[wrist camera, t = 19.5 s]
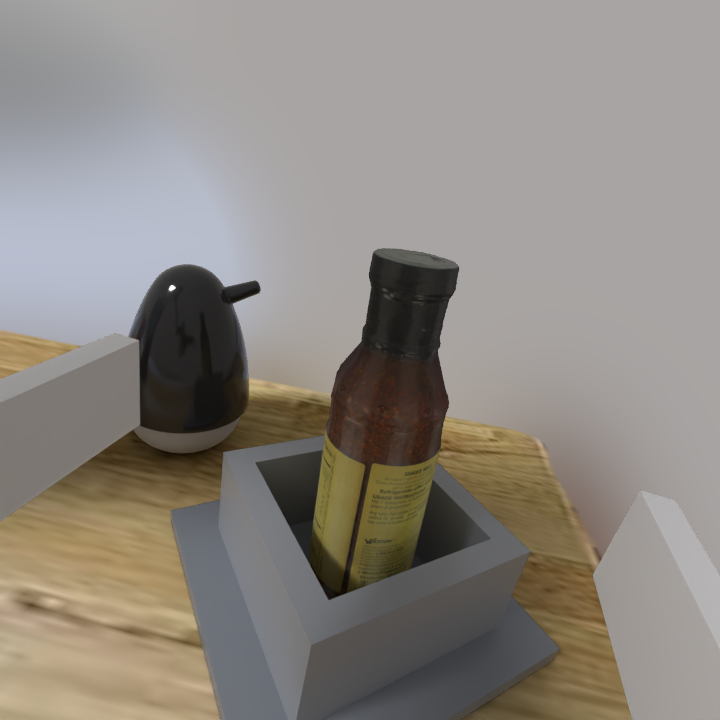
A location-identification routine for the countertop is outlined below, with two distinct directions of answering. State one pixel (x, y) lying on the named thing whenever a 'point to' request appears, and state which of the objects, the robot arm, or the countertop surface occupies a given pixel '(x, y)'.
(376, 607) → the bottle holder
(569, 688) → the countertop surface
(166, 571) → the countertop surface
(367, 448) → the sauce bottle
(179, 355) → the pump dispenser
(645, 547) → the robot arm
